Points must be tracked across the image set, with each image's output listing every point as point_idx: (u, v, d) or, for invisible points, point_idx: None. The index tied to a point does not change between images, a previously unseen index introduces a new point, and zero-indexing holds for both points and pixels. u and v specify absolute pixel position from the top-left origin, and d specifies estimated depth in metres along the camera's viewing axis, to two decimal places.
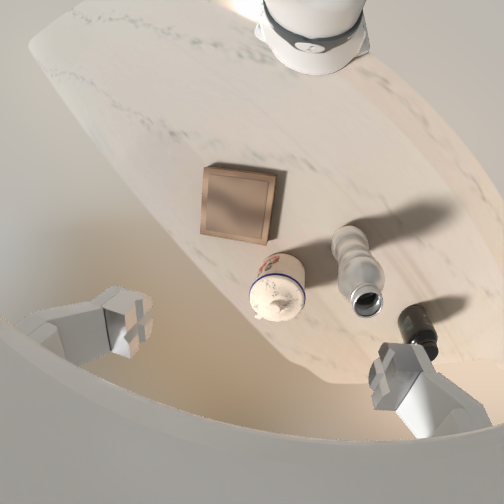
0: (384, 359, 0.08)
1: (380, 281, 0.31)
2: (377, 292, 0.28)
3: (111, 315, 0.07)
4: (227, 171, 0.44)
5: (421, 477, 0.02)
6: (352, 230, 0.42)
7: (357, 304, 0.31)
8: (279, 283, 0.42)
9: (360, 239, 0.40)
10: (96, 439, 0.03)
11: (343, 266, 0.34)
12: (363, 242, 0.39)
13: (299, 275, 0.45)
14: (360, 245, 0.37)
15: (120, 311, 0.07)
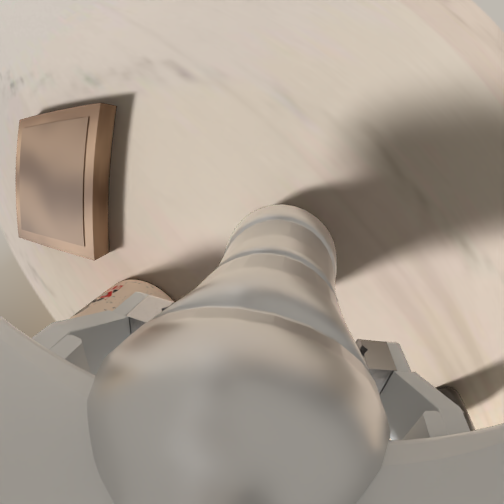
0: None
1: None
2: None
3: (137, 324, 0.07)
4: (40, 116, 0.16)
5: (421, 477, 0.02)
6: (277, 212, 0.14)
7: None
8: None
9: (297, 234, 0.11)
10: None
11: None
12: (307, 244, 0.11)
13: None
14: (282, 251, 0.09)
15: (147, 320, 0.07)
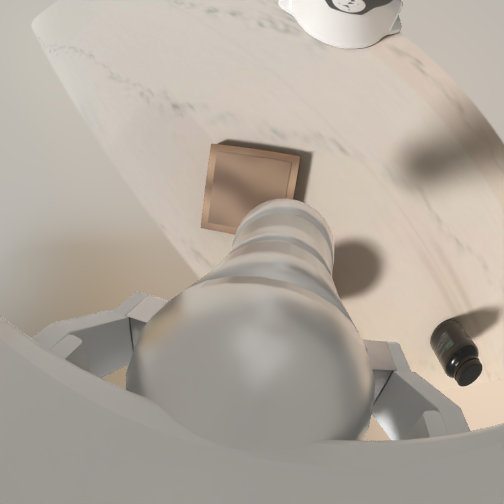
0: None
1: None
2: None
3: (137, 324, 0.07)
4: (240, 148, 0.35)
5: (421, 477, 0.02)
6: (282, 205, 0.15)
7: None
8: None
9: (300, 225, 0.13)
10: (96, 439, 0.03)
11: None
12: (309, 234, 0.12)
13: None
14: (288, 239, 0.11)
15: (148, 320, 0.07)
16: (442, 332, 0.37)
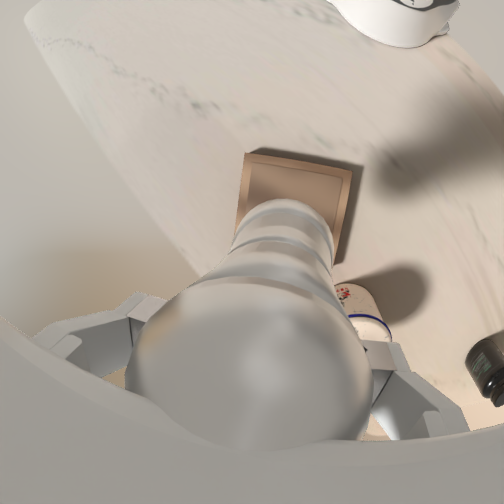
0: None
1: None
2: None
3: (137, 324, 0.07)
4: (281, 159, 0.29)
5: (421, 477, 0.02)
6: (282, 205, 0.15)
7: None
8: (364, 329, 0.25)
9: (299, 225, 0.13)
10: (96, 439, 0.03)
11: None
12: (308, 234, 0.12)
13: None
14: (287, 239, 0.11)
15: None
16: (479, 353, 0.31)
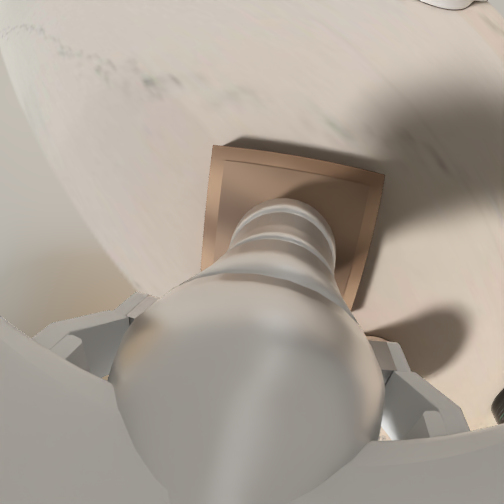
0: None
1: None
2: None
3: None
4: (271, 154, 0.18)
5: (421, 477, 0.02)
6: (282, 204, 0.14)
7: None
8: None
9: (300, 225, 0.12)
10: (96, 439, 0.03)
11: None
12: (309, 234, 0.12)
13: None
14: (288, 238, 0.10)
15: None
16: None
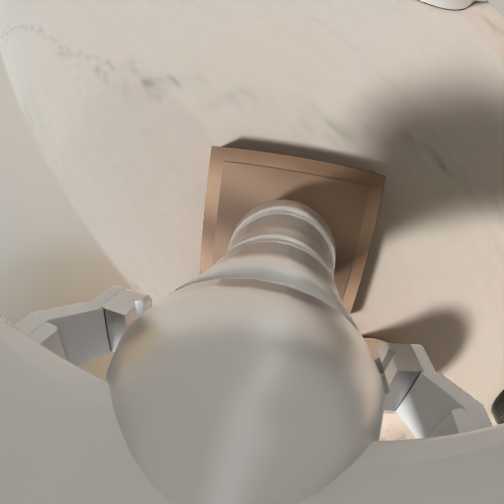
0: (384, 359, 0.08)
1: None
2: None
3: (111, 315, 0.07)
4: (270, 155, 0.17)
5: (421, 477, 0.02)
6: (281, 206, 0.14)
7: None
8: (389, 422, 0.14)
9: (300, 227, 0.12)
10: (96, 439, 0.03)
11: None
12: (309, 236, 0.12)
13: None
14: (287, 240, 0.10)
15: (120, 311, 0.07)
16: None
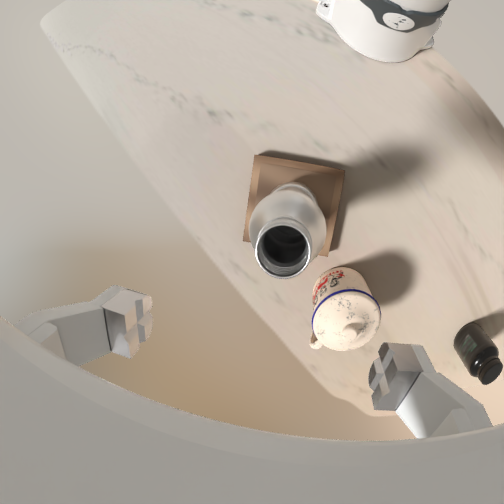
0: (384, 359, 0.08)
1: (314, 224, 0.20)
2: (298, 227, 0.17)
3: (111, 315, 0.07)
4: (285, 160, 0.34)
5: (421, 477, 0.02)
6: (292, 184, 0.31)
7: (272, 259, 0.19)
8: (355, 301, 0.31)
9: (300, 190, 0.29)
10: (96, 439, 0.03)
11: None
12: (304, 193, 0.28)
13: (370, 292, 0.34)
14: None
15: (120, 311, 0.07)
16: (465, 335, 0.36)
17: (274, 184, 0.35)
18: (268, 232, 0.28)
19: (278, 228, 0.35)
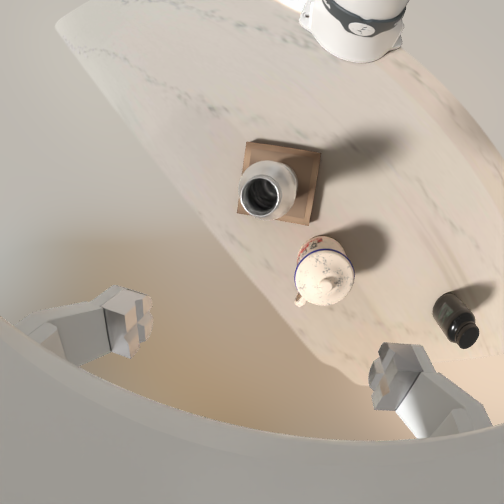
0: (384, 359, 0.08)
1: (284, 182, 0.27)
2: (269, 179, 0.24)
3: (111, 315, 0.07)
4: (271, 146, 0.42)
5: (421, 477, 0.02)
6: None
7: (253, 206, 0.27)
8: (330, 258, 0.38)
9: None
10: (96, 439, 0.03)
11: None
12: None
13: (345, 255, 0.42)
14: None
15: (120, 311, 0.07)
16: (442, 303, 0.44)
17: None
18: (255, 197, 0.35)
19: (265, 200, 0.42)
